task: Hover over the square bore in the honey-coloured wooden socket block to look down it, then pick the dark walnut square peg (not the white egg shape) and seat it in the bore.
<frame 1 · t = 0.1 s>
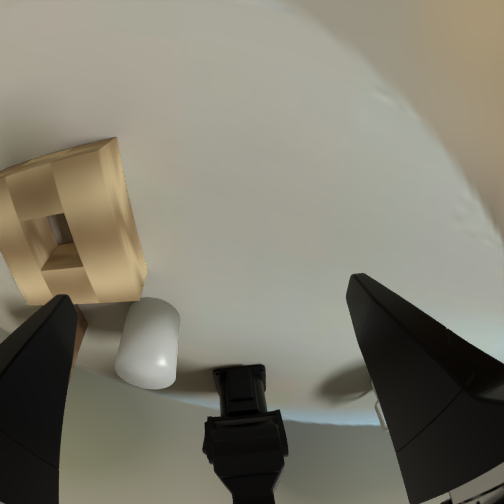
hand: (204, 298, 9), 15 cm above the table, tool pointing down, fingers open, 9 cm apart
socket block: (69, 219, 22), on the table
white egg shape: (153, 317, 29), on the table
square peg: (69, 313, 27), on the table
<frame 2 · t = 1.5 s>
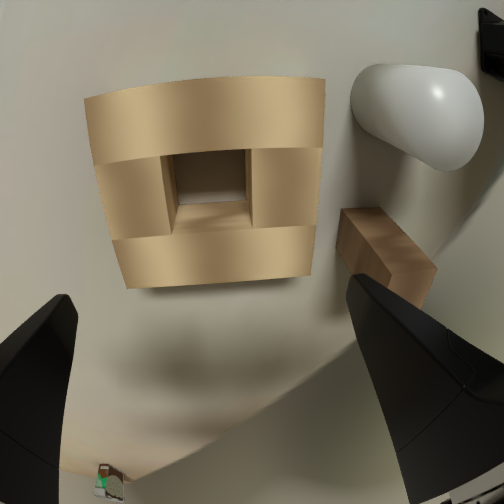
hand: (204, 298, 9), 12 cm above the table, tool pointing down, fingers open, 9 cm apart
socket block: (209, 170, 19), on the table
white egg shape: (385, 101, 17), on the table
square peg: (358, 227, 22), on the table
food container: (107, 467, 56), on the table
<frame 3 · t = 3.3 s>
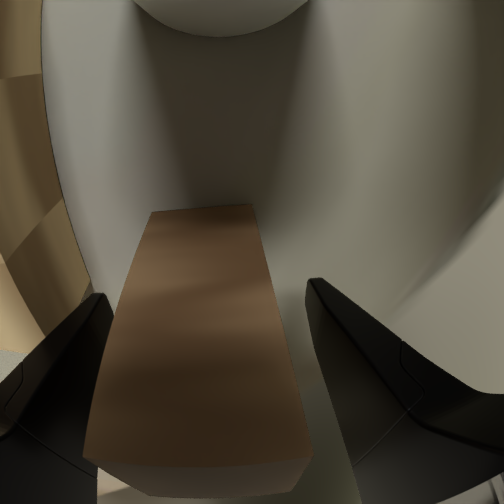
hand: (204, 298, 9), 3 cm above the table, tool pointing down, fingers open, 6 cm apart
square peg: (205, 250, 11), on the table
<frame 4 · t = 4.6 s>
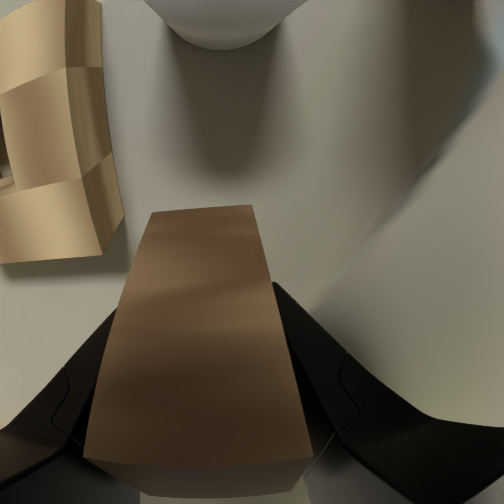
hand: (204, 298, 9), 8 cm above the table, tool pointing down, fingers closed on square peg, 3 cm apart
socket block: (18, 134, 12), on the table
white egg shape: (223, 0, 10), on the table
square peg: (205, 250, 11), point 6 cm above the table, touching gripper
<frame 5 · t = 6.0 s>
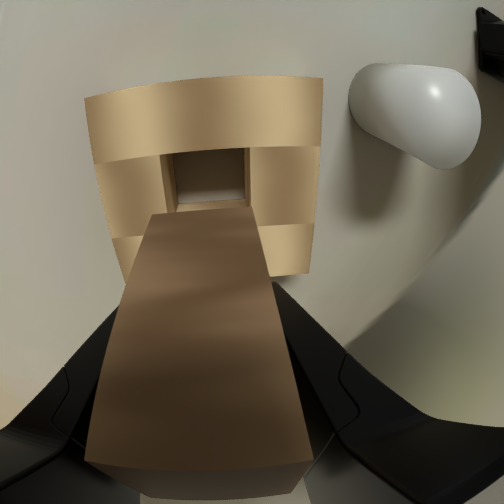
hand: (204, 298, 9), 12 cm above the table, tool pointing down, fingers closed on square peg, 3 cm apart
socket block: (208, 169, 19), on the table
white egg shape: (383, 100, 17), on the table
square peg: (205, 252, 11), point 10 cm above the table, touching gripper
when the fingers open (4 cm above the table, at t = 8.3 s): square peg drops 2 cm, resting in socket block.
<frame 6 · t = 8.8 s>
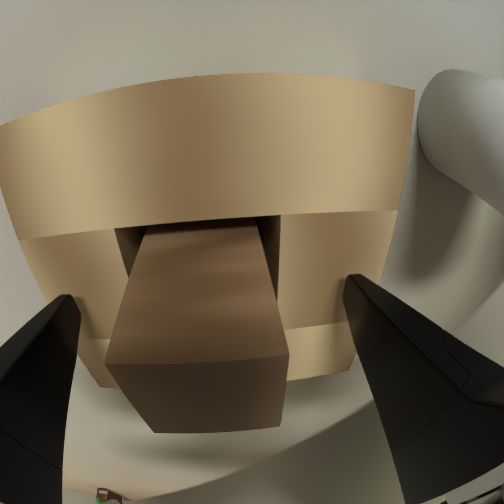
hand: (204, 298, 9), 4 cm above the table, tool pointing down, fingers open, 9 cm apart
socket block: (206, 225, 12), on the table
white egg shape: (458, 123, 11), on the table
square peg: (207, 226, 12), resting in socket block
food container: (105, 490, 50), on the table
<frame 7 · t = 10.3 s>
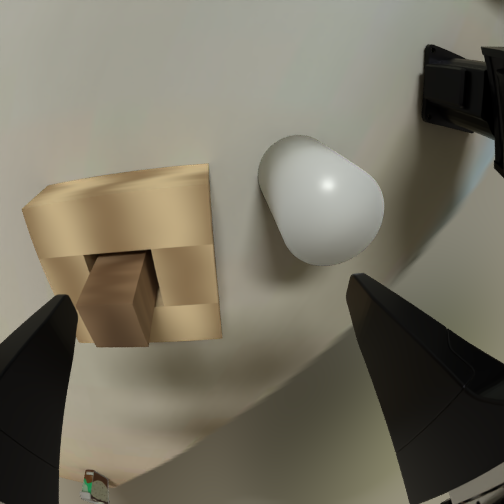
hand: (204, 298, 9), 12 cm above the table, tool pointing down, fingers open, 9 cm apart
socket block: (135, 249, 21), on the table
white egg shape: (297, 173, 20), on the table
square peg: (136, 249, 21), resting in socket block
food container: (92, 472, 57), on the table
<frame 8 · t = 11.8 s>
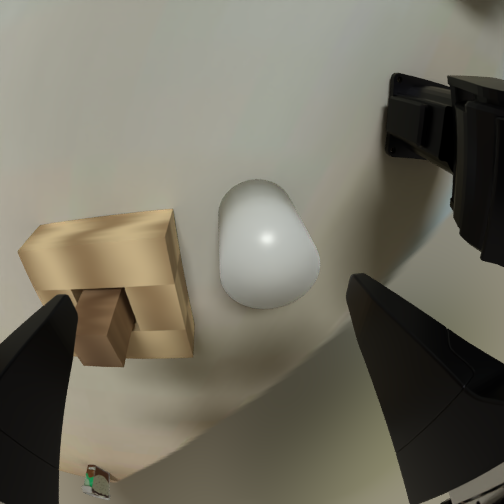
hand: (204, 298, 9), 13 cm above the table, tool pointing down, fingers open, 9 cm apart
socket block: (117, 278, 24), on the table
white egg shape: (255, 214, 22), on the table
square peg: (118, 279, 24), resting in socket block
food container: (94, 467, 62), on the table
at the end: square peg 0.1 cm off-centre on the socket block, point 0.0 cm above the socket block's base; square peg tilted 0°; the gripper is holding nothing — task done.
